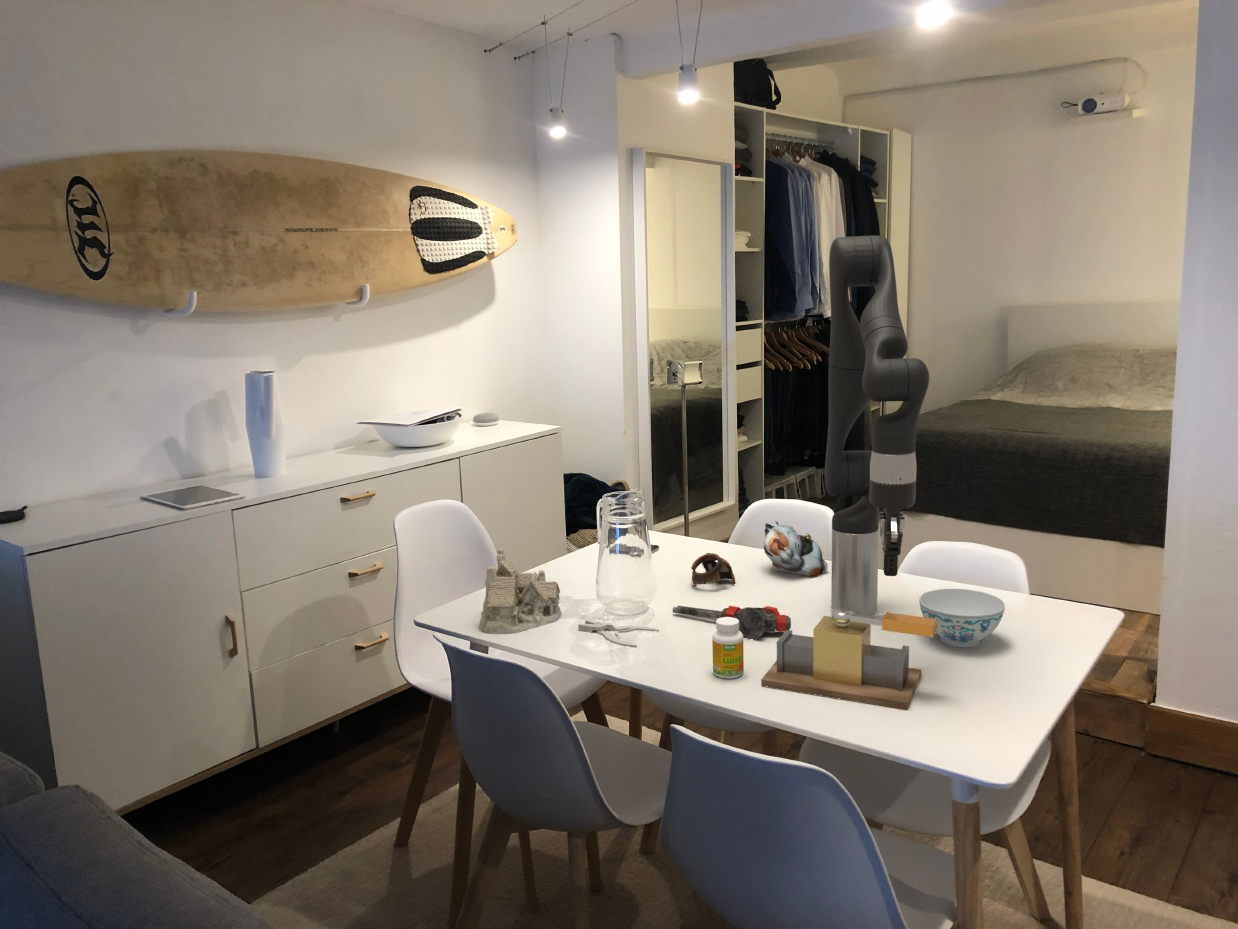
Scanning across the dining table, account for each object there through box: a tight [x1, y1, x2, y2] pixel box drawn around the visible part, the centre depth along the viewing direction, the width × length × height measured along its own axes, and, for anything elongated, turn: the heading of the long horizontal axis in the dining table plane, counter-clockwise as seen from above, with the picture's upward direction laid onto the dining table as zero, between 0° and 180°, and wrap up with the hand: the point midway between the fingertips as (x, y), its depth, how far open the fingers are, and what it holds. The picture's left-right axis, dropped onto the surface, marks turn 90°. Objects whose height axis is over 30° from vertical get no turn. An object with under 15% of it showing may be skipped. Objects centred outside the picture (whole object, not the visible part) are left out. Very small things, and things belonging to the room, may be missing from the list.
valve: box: [672, 605, 792, 641], centre depth 190 cm, size 6×26×15 cm
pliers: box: [577, 619, 660, 648], centre depth 187 cm, size 10×2×15 cm
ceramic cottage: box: [478, 547, 562, 635], centre depth 194 cm, size 16×16×15 cm
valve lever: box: [830, 608, 937, 638], centre depth 155 cm, size 17×4×2 cm, turn 61°
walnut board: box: [760, 660, 923, 711], centre depth 161 cm, size 14×24×1 cm, turn 64°
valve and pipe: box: [776, 615, 910, 691], centre depth 160 cm, size 7×21×10 cm, turn 64°
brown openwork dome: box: [690, 552, 737, 587], centre depth 215 cm, size 12×10×8 cm
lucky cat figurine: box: [763, 520, 829, 578], centre depth 220 cm, size 15×12×14 cm
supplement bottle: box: [711, 617, 745, 680], centre depth 165 cm, size 5×5×10 cm
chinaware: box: [918, 588, 1006, 648], centre depth 176 cm, size 15×15×8 cm
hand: (890, 574), depth 163 cm, fingers closed
